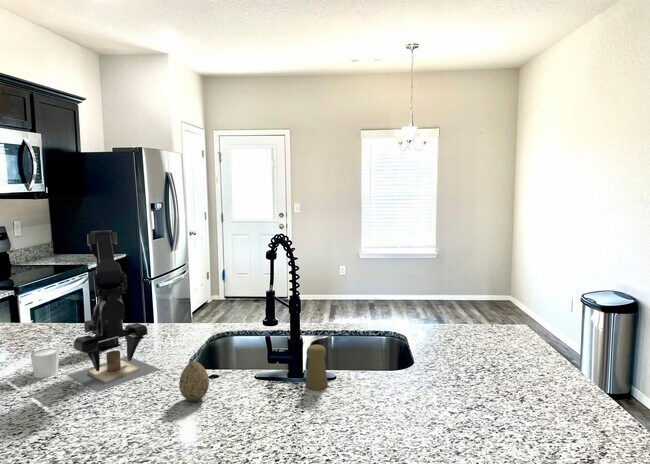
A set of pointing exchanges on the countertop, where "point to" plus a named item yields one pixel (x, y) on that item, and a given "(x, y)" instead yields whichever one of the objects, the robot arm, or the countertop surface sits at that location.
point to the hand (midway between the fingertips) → (113, 365)
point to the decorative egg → (194, 381)
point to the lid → (113, 368)
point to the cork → (316, 368)
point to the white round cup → (45, 362)
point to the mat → (100, 385)
